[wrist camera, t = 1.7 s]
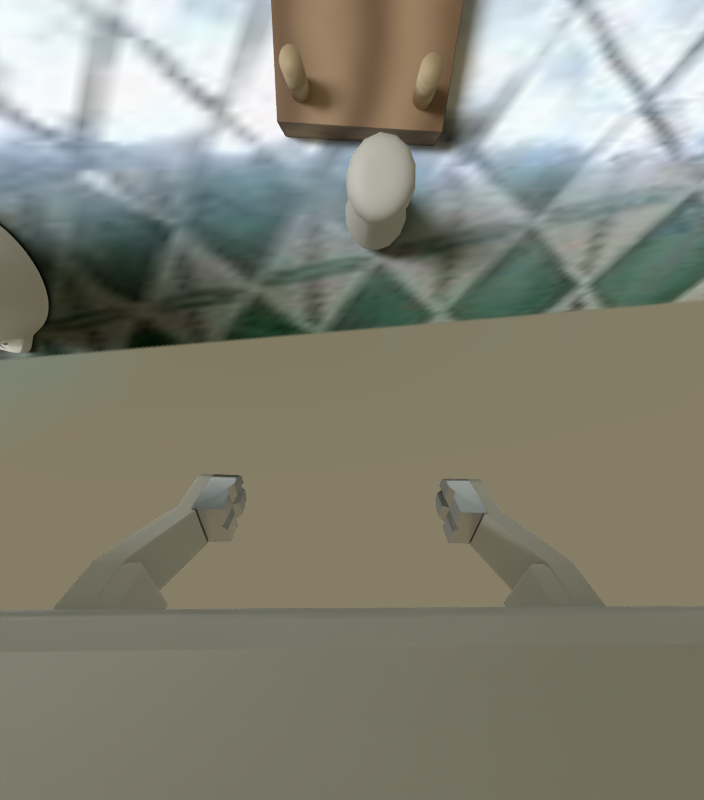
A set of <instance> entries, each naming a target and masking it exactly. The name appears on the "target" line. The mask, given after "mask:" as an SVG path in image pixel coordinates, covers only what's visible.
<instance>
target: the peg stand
mask: <svg viewBox="0 0 704 800" xmlns="http://www.w3.org/2000/svg"><path fill="white" fill-rule="evenodd" d="M462 5H463V0H271V6H272V26H273V46H274V66H275V86H276V106H277V122H278V124H279V125H280V127H281V129H282V131H283V133H284V134H285V136H292V137H307V138H323V139H339V140H355V141H363V140H364V139H366V138H368V137H370V136H373V135H375V134H377V133H379V132H383V133H388V134H393V135H397V136H398V137H399V138H400V139H401V140H402V141H403V142H404V143H405V144H419V145H435V144H436V142H437V140H438V138H439V136H440V135H441V133H442V129H443V122H444V116H445V110H446V104H447V98H448V91H449V85H450V79H451V73H452V67H453V60H454V54H455V48H456V42H457V36H458V29H459V23H460V17H461V11H462Z"/></svg>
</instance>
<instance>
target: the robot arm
mask: <svg viewBox="0 0 704 800" xmlns="http://www.w3.org/2000/svg"><path fill="white" fill-rule="evenodd" d="M48 307H49V305H48V297H47V292H46V289H45V286H44V283H43V280H42V278H41V276H40V274H39V272H38V270H37V268H36V266H35V265H34V263H33V262H32V260H31V259H30V257H29V256H28V254H27V253H26V252H25V250H24V249H23V248H22V247H21V246H20V244H19V243H18V242H17V241H16V240H15V239H14V238H13V237H12V236H11V235H10V234H9V233H8V232H7V231H6V230H5V229H4V228H2V227H1V226H0V349H1V350H5V351H9V352H13V353H23V352H28V351H30V349H31V347H32V341H33V336H34V334H35V333H36V332H37V331H38V330H39V329H40V328H41V327H42V326H43V325H44V323H45V321H46V319H47V316H48ZM242 484H243V479H242V476H240V475H221V474H201V475H199V476H198V477H197V478H196V480H195V481H194V483H193V484H192V485H191V487H190V488H189V490H188V492H187V493H186V494H185V496H184V497H183V499H182V500H181V502H180V503H179V505H178V506H177V508H176V509H171V510H170V511H168V512H167V513H165V514H163V515H162V516H160V517H159V518H157V519H156V520H154V521H153V522H151V523H150V524H149V525H147V526H145V527H144V528H142V529H141V530H139V531H138V532H136V533H135V534H133V535H132V536H130V537H129V538H127V539H125V540H124V541H122V542H121V543H119V544H118V545H116V546H115V547H113V548H112V549H110V550H109V551H107V552H106V553H104V554H103V555H101V556H100V557H98V558H97V559H95V560H93V561H92V562H91V564H90V565H89V566H88V567H87V568H86V569H85V571H84V572H83V573H82V574H81V575H80V577H79V578H78V579H77V580H76V582H75V583H74V584H73V585H72V586H71V588H70V589H69V590H68V591H67V592H66V593H65V595H64V596H63V597H62V598H61V599H60V601H59V602H58V603H57V604H56V605H55V607H54V608H53V609H52V610H0V800H704V606H617V607H616V606H613V607H612V606H611V607H610V606H609V607H606V606H605V604H604V603H603V602H602V600H601V599H600V598H599V596H598V595H597V594H596V592H595V591H594V590H593V588H592V587H591V586H590V584H589V583H588V582H587V580H586V579H585V578H584V576H583V575H582V574H581V572H580V571H579V570H578V569H577V567H576V566H575V564H574V563H572V562H571V561H570V560H569V559H567V558H566V557H564V556H563V555H562V554H560V553H559V552H557V551H556V550H555V549H554V548H552V547H551V546H549V545H548V544H547V543H545V542H544V541H542V540H541V539H540V538H538V537H537V536H536V535H534V534H533V533H532V532H530V531H528V530H527V529H526V528H525V527H523V526H522V525H521V524H519V523H518V522H516V521H515V520H514V519H512V518H511V517H510V516H508V515H507V514H502V513H501V511H500V509H499V508H498V506H497V505H496V503H495V501H494V500H493V498H492V497H491V495H490V493H489V492H488V490H487V489H486V487H485V485H484V484H483V482H482V481H481V480H479V479H467V480H466V479H443V480H442V481H441V483H440V487H441V491H440V492H438V493H437V497H436V509H437V512H438V515H439V517H440V518H441V519H442V520H443V521H444V524H443V529H444V532H445V534H446V537H447V540H448V542H449V543H468V544H470V545H471V547H473V549H474V550H475V551H476V552H477V553H478V554H479V555H480V556H481V557H482V558H483V559H484V560H485V562H486V563H487V564H488V565H489V566H490V567H491V568H492V569H493V570H494V571H495V572H496V573H497V574H498V576H499V577H500V578H501V579H502V580H503V581H504V582H505V583H506V584H507V585H508V586H509V587H510V588H511V590H512V592H511V593H510V594H509V596H508V597H507V598H506V600H505V602H504V605H505V607H428V608H427V607H426V608H425V607H424V608H421V607H420V608H419V607H417V608H254V609H253V608H248V609H247V608H245V609H166V608H167V601H166V600H165V598H164V597H163V595H162V593H161V592H160V589H161V588H162V587H163V586H164V585H166V583H167V582H168V581H170V579H171V578H173V577H174V576H175V575H176V574H177V573H178V572H179V571H180V570H181V569H182V568H183V567H184V566H185V565H186V564H187V563H188V562H189V561H190V560H191V559H192V558H193V557H194V556H195V555H196V554H197V553H198V552H199V551H200V550H201V549H202V548H203V547H204V546H205V545H206V544H207V542H219V541H220V542H221V541H231V540H232V538H233V535H234V532H235V530H236V528H237V520H236V519H237V518H238V517H239V516H240V515H242V513H243V510H244V507H245V502H246V492H245V489H243V488H242V487H241V486H242Z"/></svg>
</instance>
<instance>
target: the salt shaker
mask: <svg viewBox="0 0 704 800" xmlns="http://www.w3.org/2000/svg"><path fill="white" fill-rule="evenodd" d="M346 182H347V196H348V202H347V205H346V209H345V214H346V226H347V228H348V230H349V232H350V234H351V236H352V238H353V240H354V241H356V242H357V243H358V244H359V245H361V246H362V247H363V248H366V249H373V250H378V249H381V248H384V247H387V246H390V245H391V244H392V242H393V241H394V240H395V239H396V238H397V237H398V236H399V235H400V233H401V230H402V228H403V226H404V223H405V221H406V208H407V207H408V205H409V202H410V200H411V197H412V195H413V192H414V190H415V162H414V159H413V157H412V154H411V151H410V148H409V146H408V145H407V144H405V143H404V142H403V141H402V140H401V139H400V138H399V137H398V136H397V135H393V134H388V133H383V132H379V133H377V134H375V135H373V136H370V137H368V138H366V139H364V140H363V142H362V143H361V144H360V145H359V147H358V148H357V149H356V150H355V152H354V153H353V154H352V157H351V161H350V165H349V168H348V172H347V176H346Z"/></svg>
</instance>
